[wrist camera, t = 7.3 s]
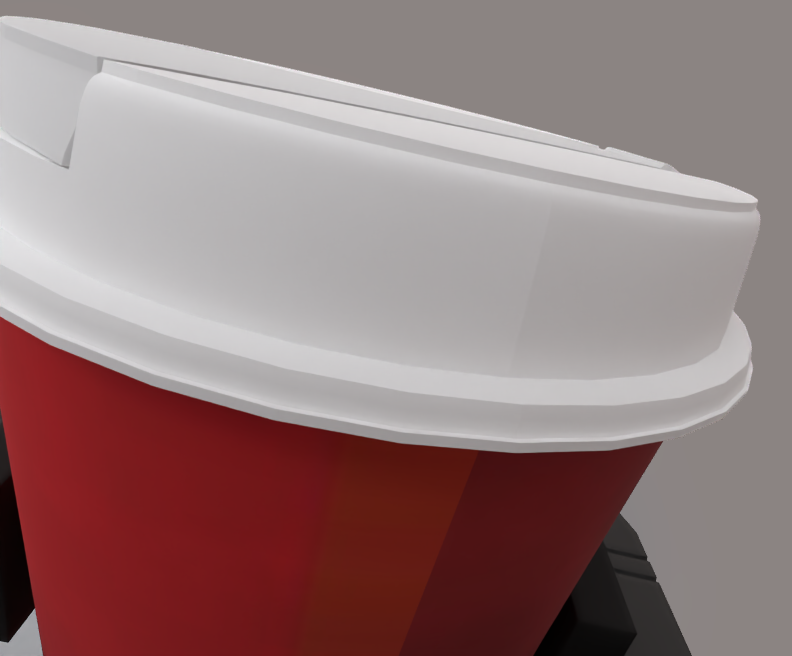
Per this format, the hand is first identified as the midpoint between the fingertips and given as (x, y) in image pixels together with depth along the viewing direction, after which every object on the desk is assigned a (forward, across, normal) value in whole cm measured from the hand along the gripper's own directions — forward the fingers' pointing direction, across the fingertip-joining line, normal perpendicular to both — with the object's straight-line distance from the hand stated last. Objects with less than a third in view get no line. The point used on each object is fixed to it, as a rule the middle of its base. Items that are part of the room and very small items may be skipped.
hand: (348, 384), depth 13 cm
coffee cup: (-5, 0, -9) cm, 10 cm away
